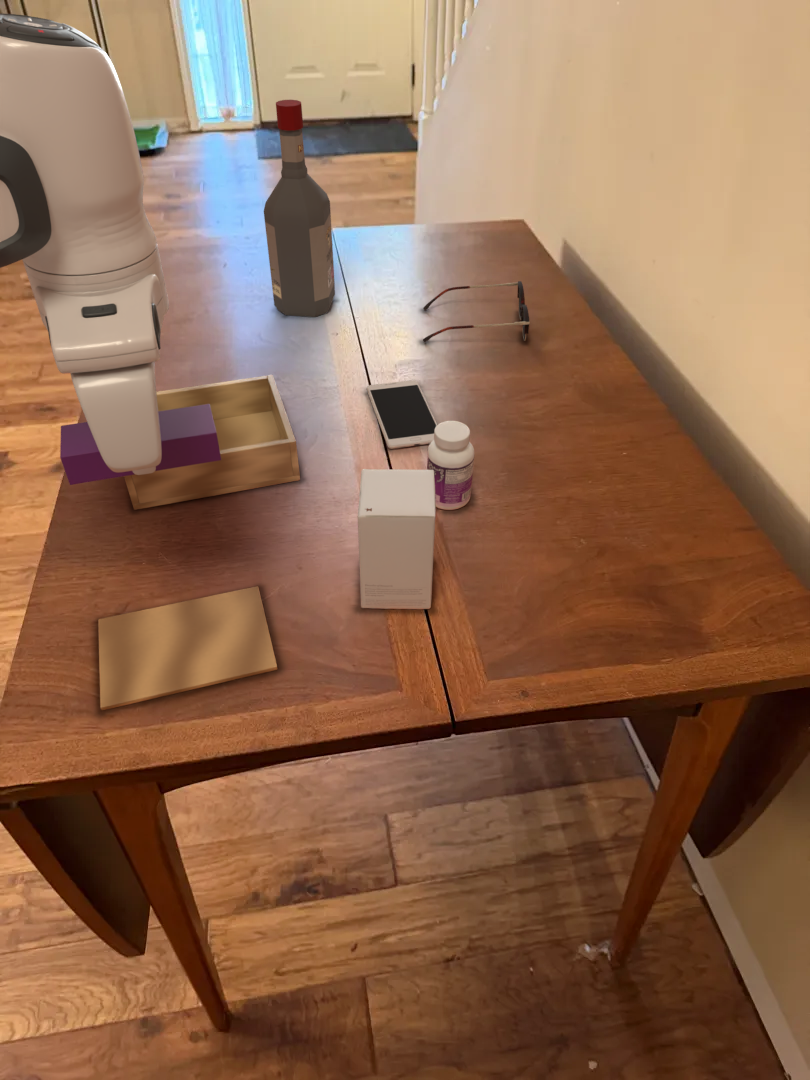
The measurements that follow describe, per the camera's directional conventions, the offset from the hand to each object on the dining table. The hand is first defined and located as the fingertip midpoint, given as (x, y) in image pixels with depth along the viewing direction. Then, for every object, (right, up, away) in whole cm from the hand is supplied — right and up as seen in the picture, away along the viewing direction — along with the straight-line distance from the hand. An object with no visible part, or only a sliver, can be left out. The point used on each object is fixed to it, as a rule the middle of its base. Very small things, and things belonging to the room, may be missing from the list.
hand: (142, 448), depth 64 cm
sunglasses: (+33, +26, +60) cm, 73 cm away
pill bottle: (+27, -3, +28) cm, 39 cm away
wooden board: (0, -18, +11) cm, 21 cm away
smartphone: (+22, +9, +41) cm, 47 cm away
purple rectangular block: (0, -1, +1) cm, 1 cm away
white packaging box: (+21, -12, +18) cm, 30 cm away
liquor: (+5, +31, +65) cm, 72 cm away
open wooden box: (-3, +3, +34) cm, 34 cm away
